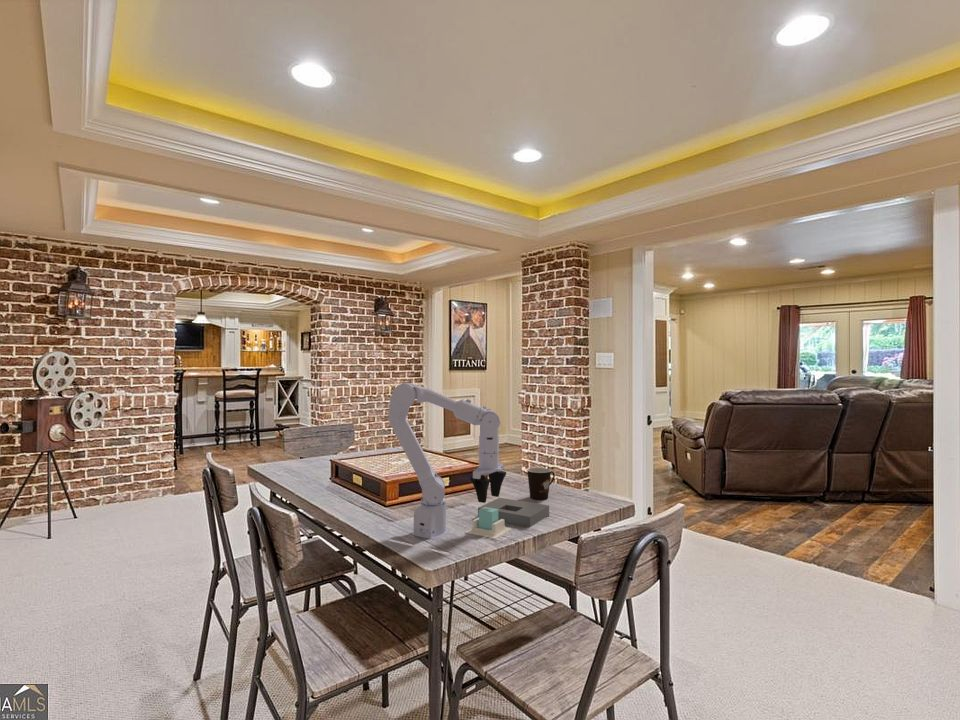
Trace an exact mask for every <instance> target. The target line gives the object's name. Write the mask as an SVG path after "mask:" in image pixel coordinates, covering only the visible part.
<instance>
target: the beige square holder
mask: <svg viewBox="0 0 960 720" xmlns="http://www.w3.org/2000/svg"><path fill="white" fill-rule="evenodd" d="M505 525H506V523H505V520H504V519H501V520H499V521H497V522H495V523H493V524H492V530H487V529H482V528H479V517H478V516H477V517H476V518H475V519H472V527H471V528H470V529H468V530H466V531H464V533H466V534H470V535H475V536H481V537H485V538H490V539H497V538H499V537H500V536H502V535H504V534H505V533H507V532H509V531H510V530H512V528H511V527H506V526H505Z"/></svg>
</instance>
